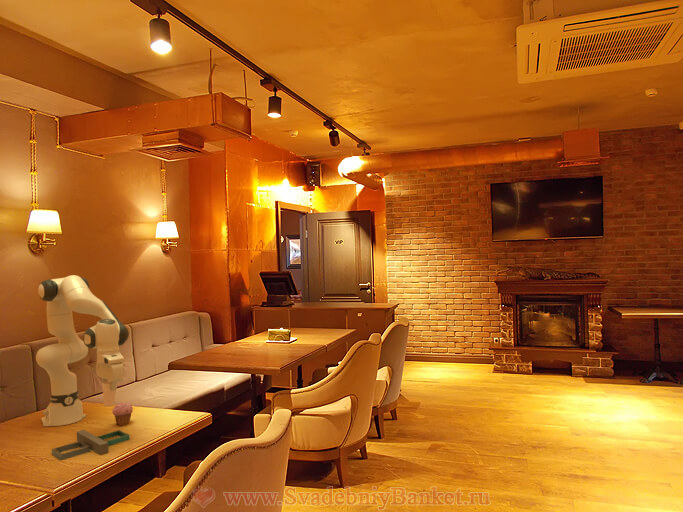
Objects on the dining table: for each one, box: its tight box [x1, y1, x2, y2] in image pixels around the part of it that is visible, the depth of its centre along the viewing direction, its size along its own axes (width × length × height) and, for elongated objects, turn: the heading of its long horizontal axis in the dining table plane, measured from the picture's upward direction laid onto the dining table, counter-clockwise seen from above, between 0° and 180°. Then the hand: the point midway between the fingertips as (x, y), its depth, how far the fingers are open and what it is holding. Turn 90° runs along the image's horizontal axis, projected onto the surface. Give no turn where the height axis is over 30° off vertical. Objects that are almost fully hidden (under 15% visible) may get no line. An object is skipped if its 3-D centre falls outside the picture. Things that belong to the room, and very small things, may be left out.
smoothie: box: [101, 380, 119, 407], centre depth 208 cm, size 6×6×14 cm
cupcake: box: [111, 402, 134, 426], centre depth 230 cm, size 9×9×10 cm
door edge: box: [76, 429, 109, 456], centre depth 202 cm, size 26×3×4 cm, turn 47°
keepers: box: [51, 429, 131, 461], centre depth 202 cm, size 10×27×2 cm, turn 137°
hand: (109, 389), depth 208 cm, fingers closed on smoothie, 6 cm apart
